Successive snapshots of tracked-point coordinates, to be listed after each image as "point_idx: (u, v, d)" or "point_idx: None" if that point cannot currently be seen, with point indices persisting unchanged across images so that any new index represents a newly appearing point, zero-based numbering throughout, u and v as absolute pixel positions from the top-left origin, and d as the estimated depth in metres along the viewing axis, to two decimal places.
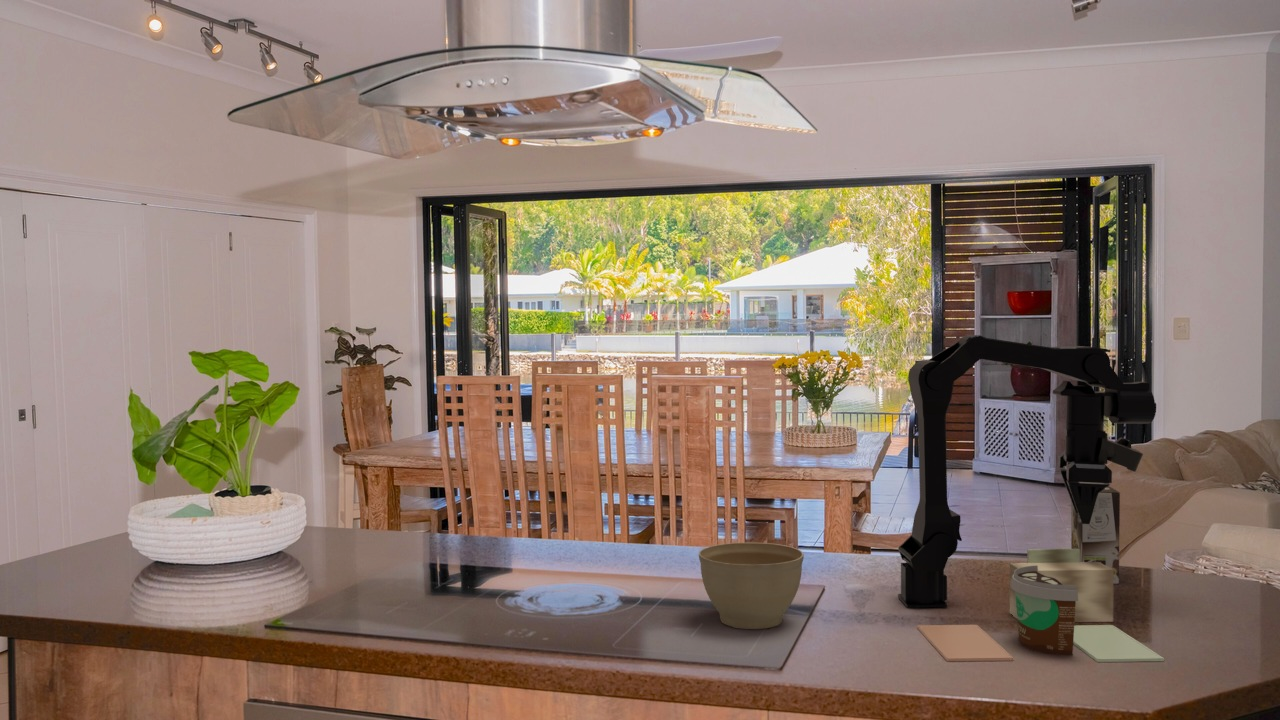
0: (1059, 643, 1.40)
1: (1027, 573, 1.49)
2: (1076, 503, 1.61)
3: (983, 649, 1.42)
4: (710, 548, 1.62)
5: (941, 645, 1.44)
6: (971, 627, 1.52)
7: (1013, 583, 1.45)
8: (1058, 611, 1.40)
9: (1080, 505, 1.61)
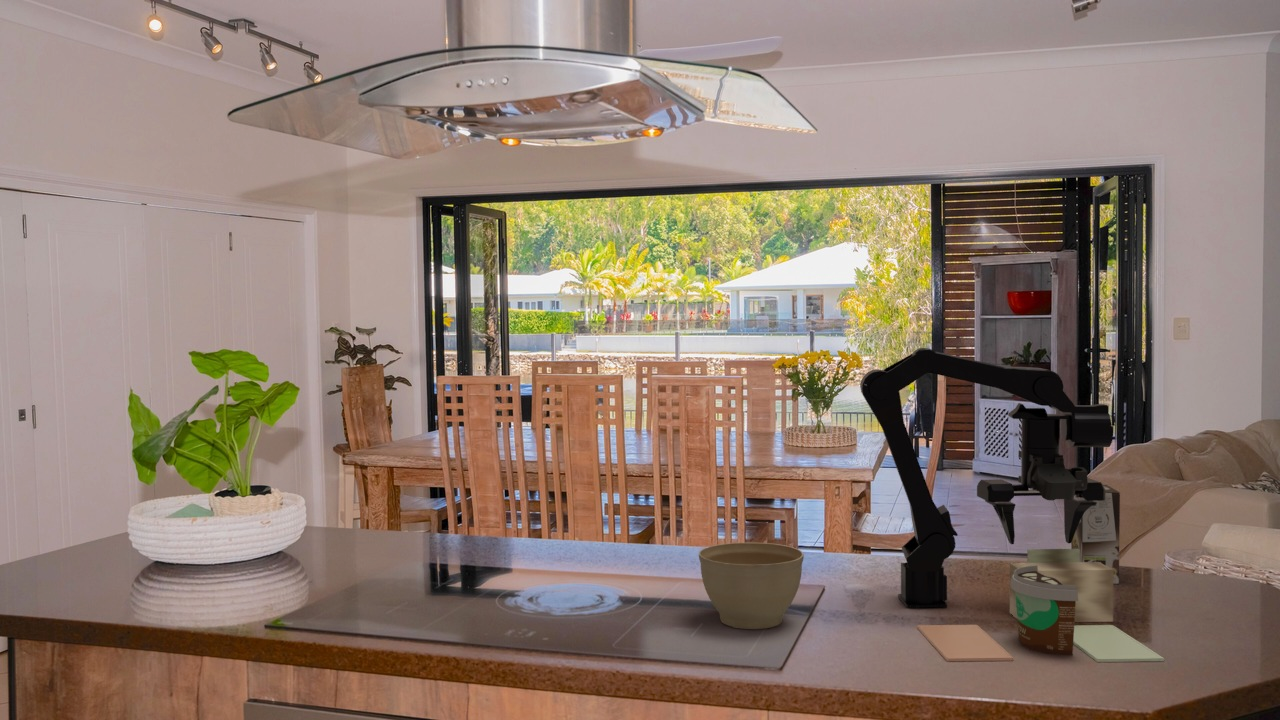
0: (1059, 643, 1.40)
1: (1027, 573, 1.49)
2: None
3: (983, 649, 1.42)
4: (710, 548, 1.62)
5: (941, 645, 1.44)
6: (971, 627, 1.52)
7: (1013, 583, 1.45)
8: (1058, 611, 1.40)
9: (1002, 523, 1.64)
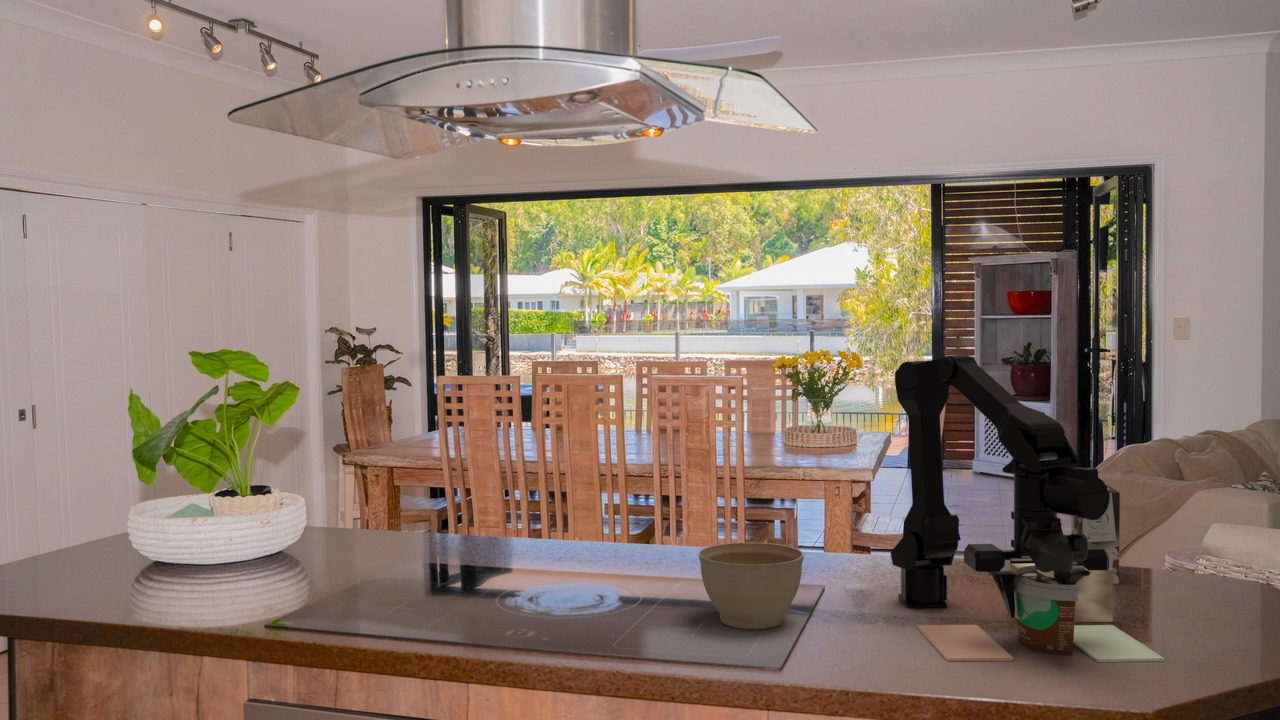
0: (1059, 643, 1.40)
1: (1027, 573, 1.49)
2: (999, 590, 1.46)
3: (983, 649, 1.42)
4: (710, 548, 1.62)
5: (941, 645, 1.44)
6: (971, 627, 1.52)
7: None
8: (1058, 611, 1.40)
9: (1001, 593, 1.45)
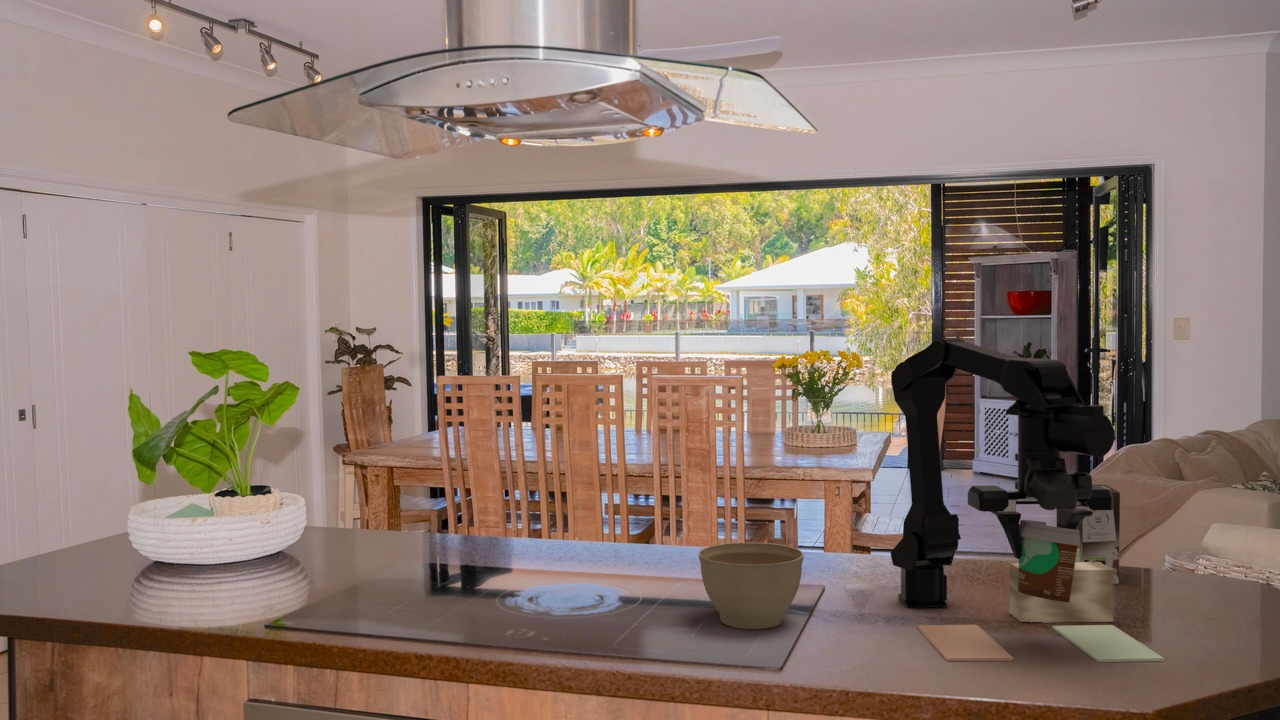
0: (1057, 588, 1.39)
1: None
2: (1005, 532, 1.46)
3: (983, 649, 1.42)
4: (710, 548, 1.62)
5: (941, 645, 1.44)
6: (971, 627, 1.52)
7: None
8: (1058, 555, 1.39)
9: (1007, 535, 1.45)
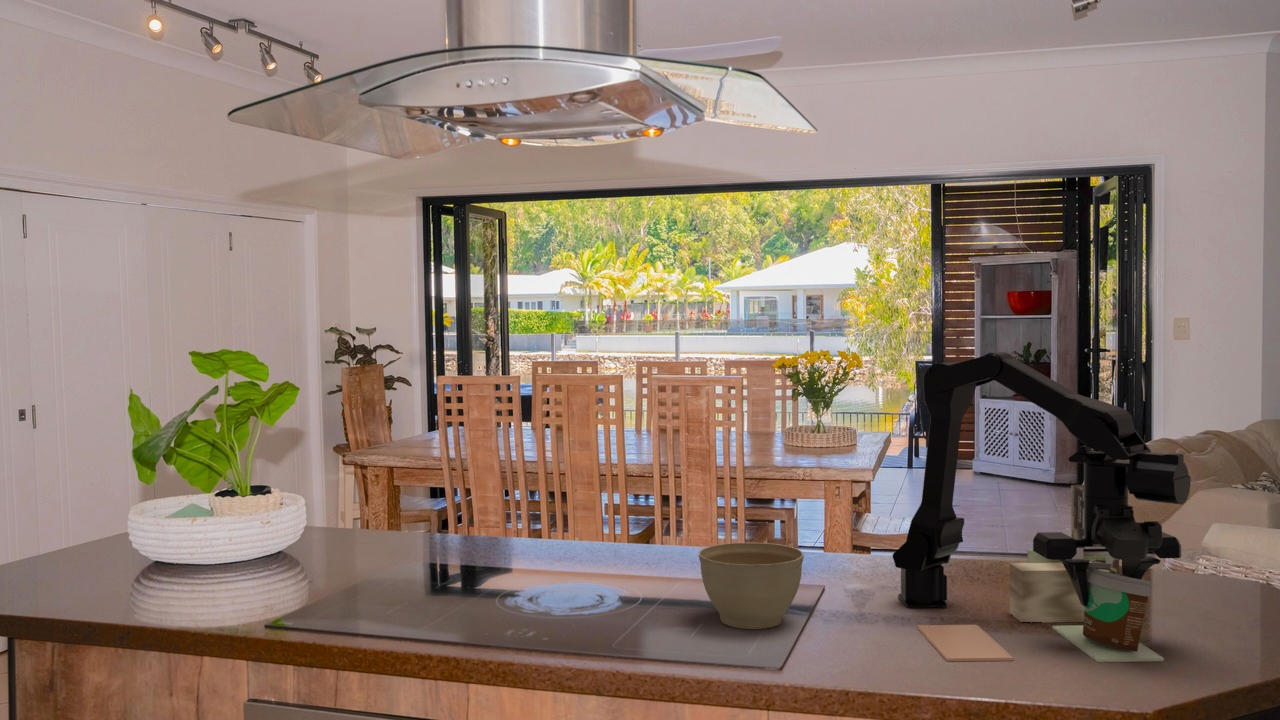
0: (1125, 637, 1.39)
1: (1100, 569, 1.48)
2: (1071, 579, 1.46)
3: (983, 649, 1.42)
4: (710, 548, 1.62)
5: (941, 645, 1.44)
6: (971, 627, 1.52)
7: None
8: (1128, 605, 1.39)
9: (1073, 582, 1.45)
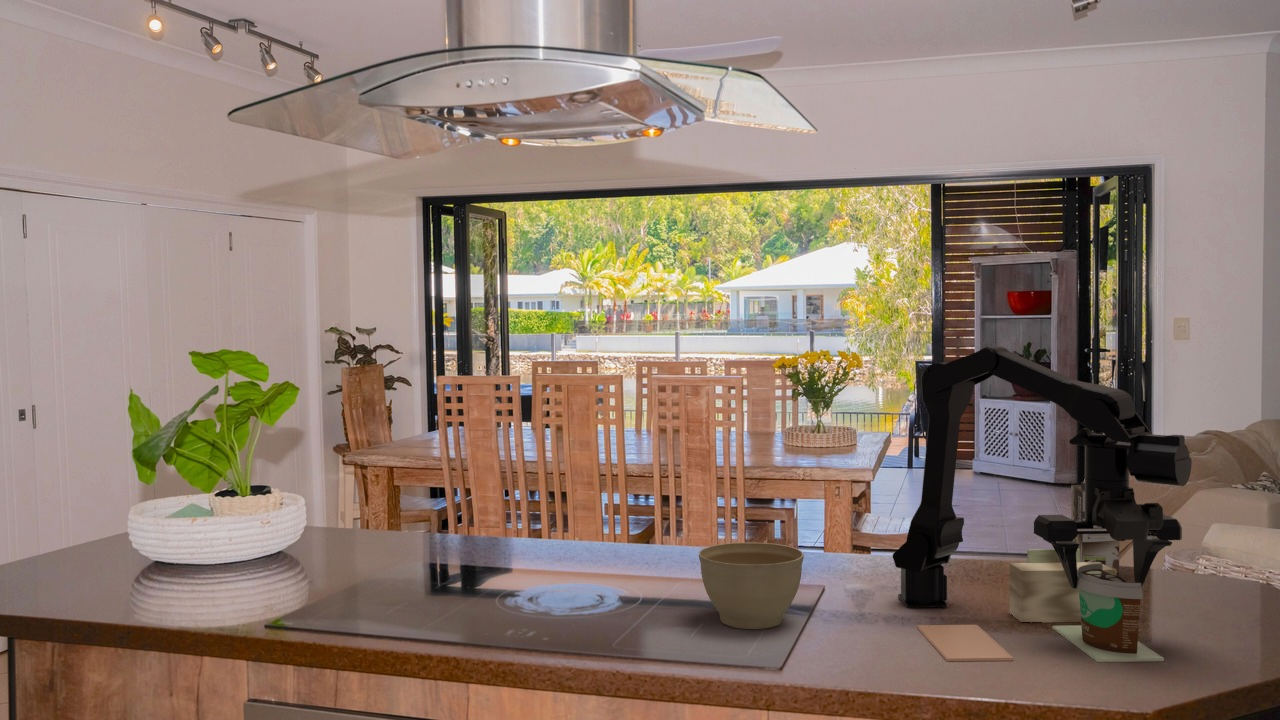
0: (1123, 641, 1.39)
1: (1091, 571, 1.48)
2: (1061, 561, 1.46)
3: (983, 649, 1.42)
4: (710, 548, 1.62)
5: (941, 645, 1.44)
6: (971, 627, 1.52)
7: None
8: (1122, 609, 1.39)
9: (1063, 564, 1.45)
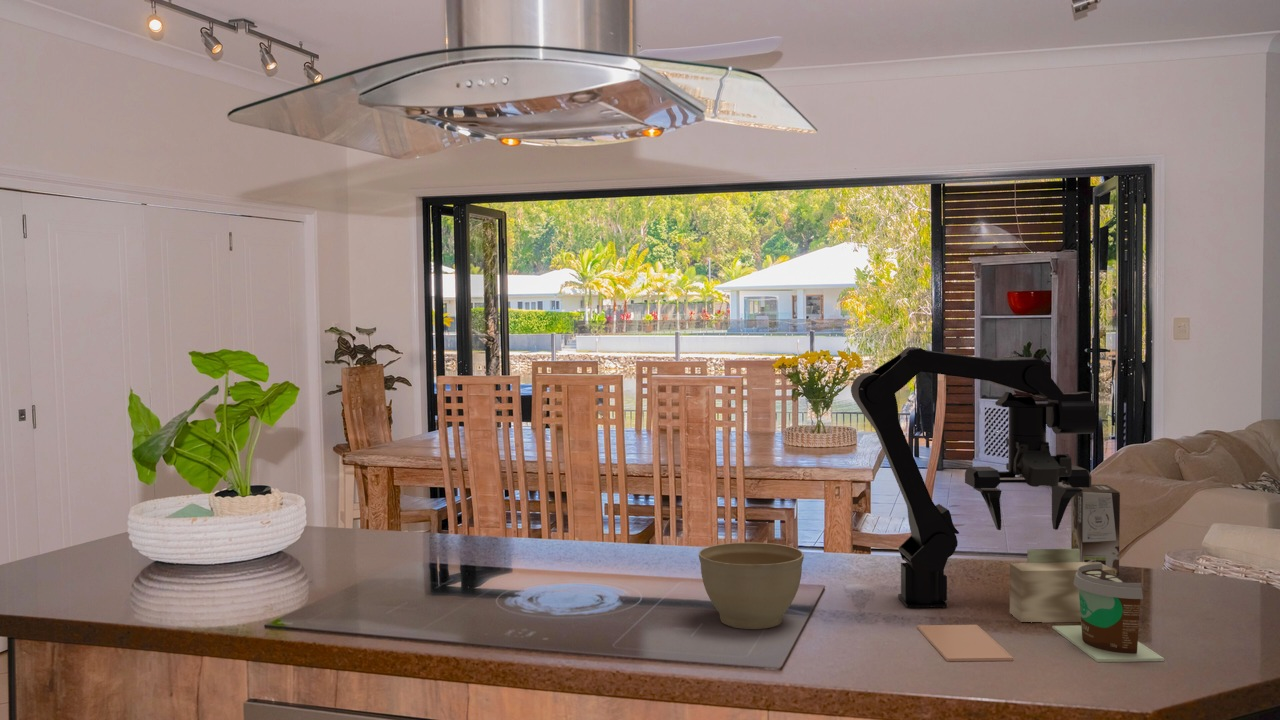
0: (1123, 641, 1.39)
1: (1091, 571, 1.48)
2: (988, 507, 1.67)
3: (983, 649, 1.42)
4: (710, 548, 1.62)
5: (941, 645, 1.44)
6: (971, 627, 1.52)
7: (1076, 580, 1.44)
8: (1122, 609, 1.39)
9: (989, 509, 1.67)
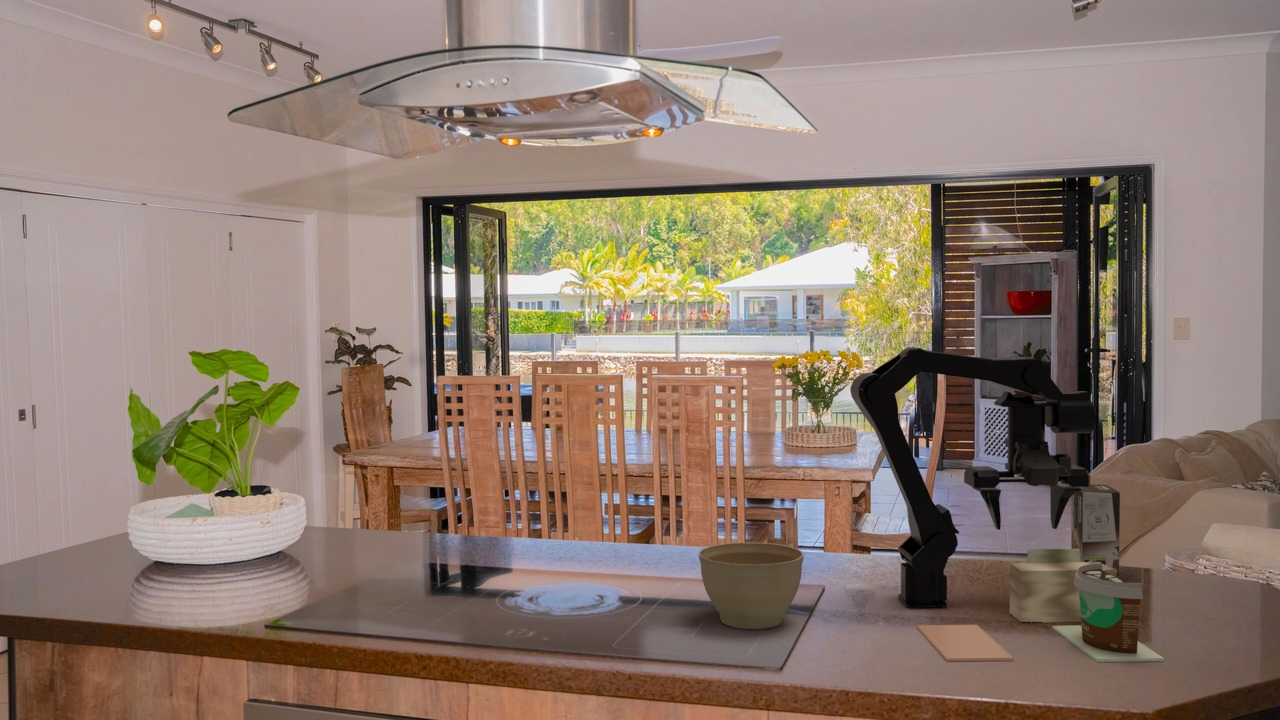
0: (1123, 641, 1.39)
1: (1091, 571, 1.48)
2: (987, 507, 1.68)
3: (983, 649, 1.42)
4: (710, 548, 1.62)
5: (941, 645, 1.44)
6: (971, 627, 1.52)
7: (1076, 580, 1.44)
8: (1122, 609, 1.39)
9: (989, 509, 1.67)
